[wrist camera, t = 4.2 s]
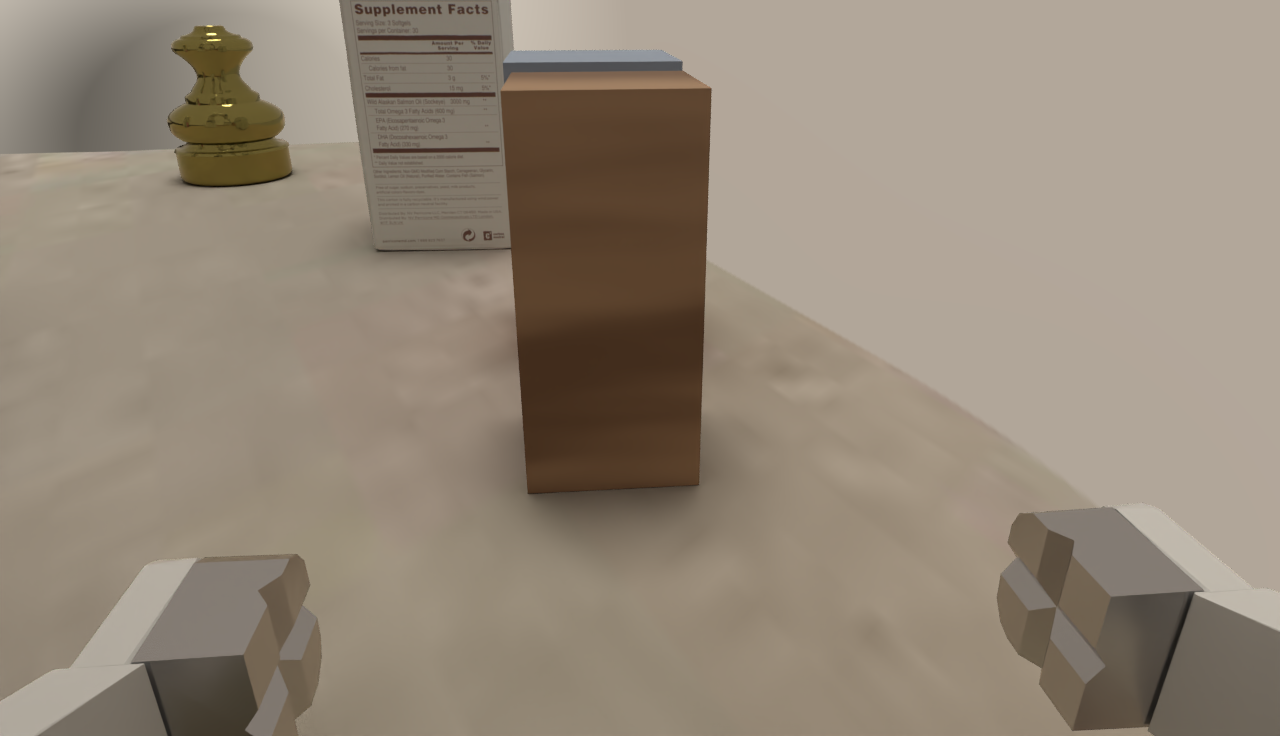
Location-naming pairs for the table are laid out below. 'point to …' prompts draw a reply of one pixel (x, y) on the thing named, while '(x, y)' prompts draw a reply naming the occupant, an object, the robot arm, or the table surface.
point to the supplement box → (431, 119)
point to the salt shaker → (225, 116)
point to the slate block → (589, 61)
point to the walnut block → (608, 273)
